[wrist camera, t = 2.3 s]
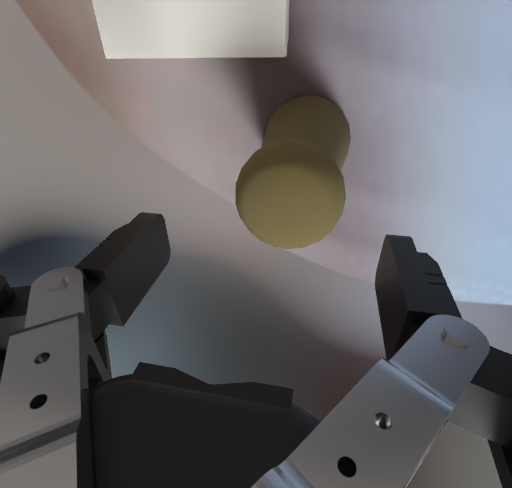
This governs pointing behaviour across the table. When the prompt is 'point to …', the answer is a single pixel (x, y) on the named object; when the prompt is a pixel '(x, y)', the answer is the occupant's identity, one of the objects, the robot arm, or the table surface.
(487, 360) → the robot arm
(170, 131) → the table surface
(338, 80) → the table surface
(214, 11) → the podium
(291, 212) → the cork
